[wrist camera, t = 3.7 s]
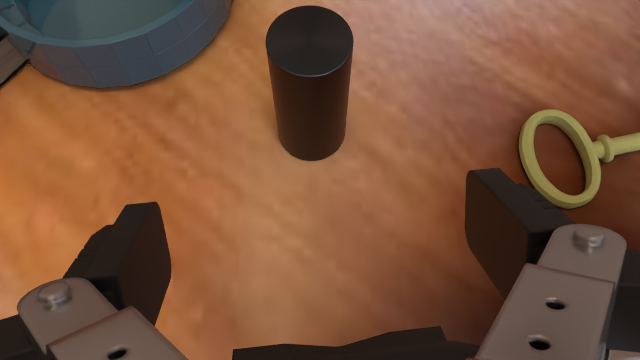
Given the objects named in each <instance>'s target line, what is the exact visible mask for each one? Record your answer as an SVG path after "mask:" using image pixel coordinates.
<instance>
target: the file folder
mask: <svg viewBox="0 0 640 360" xmlns="http://www.w3.org/2000/svg"><path fill="white" fill-rule="evenodd" d="M26 63H27V61H26V60H24V59H23V58H22V57H21V55H20V54H19V53H18V52H17V50H16V49H15V48H14V47H13V46H12V45H11V44H10V42H9V41H8V40H7V38H5V36H4V35H3V34H2V33H1V32H0V87H1V86H2V85H3V84H5V83H6V82H7V81H8V80H9V79H10V78H11V77H12V76H13V75H14V74H16V73H17V72H18V71H19V70H20V69H21V68H22V67H23V66H24V65H26Z"/></svg>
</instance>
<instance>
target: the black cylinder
mask: <svg viewBox="0 0 640 360" xmlns="http://www.w3.org/2000/svg"><path fill="white" fill-rule="evenodd" d="M266 50H267V57H268V64H269V71H270V78H271V84H272V91H273V98H274V105H275V112H276V119H277V126H278V133H279V138H280V141H281V143H282V145H283V147H284V148H285V149H286V150H287V151H288V152H289V153H290V154H291V155H293V156H295V157H297V158H299V159H302V160H308V161H316V160H321V159H324V158H327V157H329V156H330V155H332V154H333V153H335V152H336V151H337V150H338V149H339V147H340V146H341V144H342V142H343V140H344V136H345V126H346V116H347V105H348V95H349V84H350V74H351V63H352V52H353V35H352V31H351V29H350V27H349V25H348V24H347V22H346V21H345V20H344V19H343V18H342V17H341V16H340V15H338V14H337V13H336V12H334V11H332V10H330V9H327V8H324V7H320V6H300V7H296V8H293V9H290V10H288V11H286V12H284V13H282V14H281V15H280V16H278V17H277V18H276V19H275V20H274V21H273V23H272V24H271V26H270V27H269V29H268V32H267V35H266Z"/></svg>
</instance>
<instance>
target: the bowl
mask: <svg viewBox="0 0 640 360" xmlns="http://www.w3.org/2000/svg"><path fill="white" fill-rule="evenodd" d="M231 2H232V0H0V32H1V33H2V34H3V35H4V36H5V38H7V40H8V41H9V42H10V44H11V45H12V46H13V47H14V48H15V49H16V50H17V52H18V53H19V54H20V55H21V57H22V58H23V59H24V60H26V61H27V62H28V63H29V64H31V65H32V66H33V67H34V68H36V69H37V70H38V71H39V72H41V73H43V74H45V75H48V76H50V77H52V78H55V79H57V80H60V81H62V82H65V83H67V84H72V85H79V86H87V87H94V88H108V87H119V86H130V85H135V84H138V83H141V82H144V81H148V80H151V79H154V78H157V77H160V76H163V75H165V74H167V73H169V72H171V71H172V70H174V69H176V68H178V67H179V66H181V65H183V64H185V63H186V62H188V61H190V60H191V59H193V58H194V57H195V56H196V55H197V54H198V53H199V52H200V51H201V50H202V49H203V48H205V47H206V46H207V45H208V44H209V43H210V42H211V41H212V40H213V39H214V37H215V36H216V34H217V33H218V31H219V29H220V28H221V26H222V25H223V23H224V21H225V20H226V18H227V16H228V13H229V10H230V6H231Z"/></svg>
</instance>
